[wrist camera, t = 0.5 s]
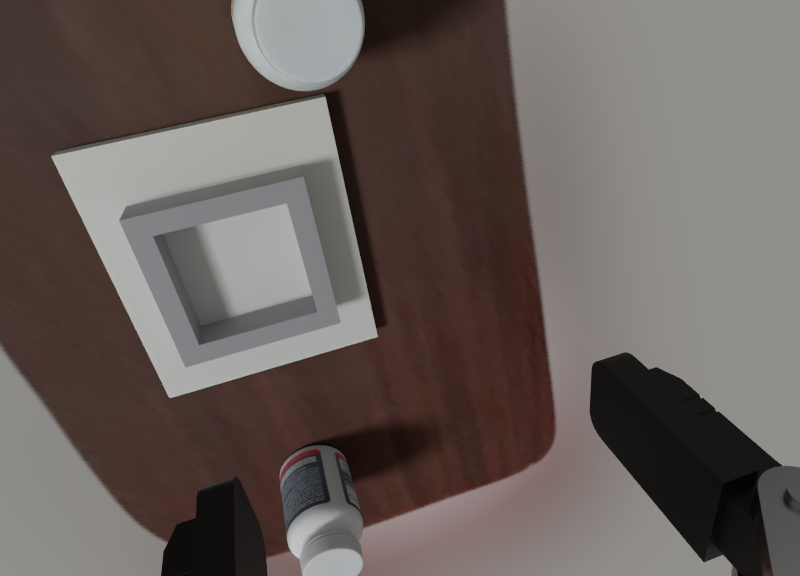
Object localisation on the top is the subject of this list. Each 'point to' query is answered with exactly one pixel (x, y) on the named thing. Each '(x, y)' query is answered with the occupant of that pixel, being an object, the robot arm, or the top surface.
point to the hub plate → (227, 240)
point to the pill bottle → (322, 512)
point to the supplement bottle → (300, 39)
